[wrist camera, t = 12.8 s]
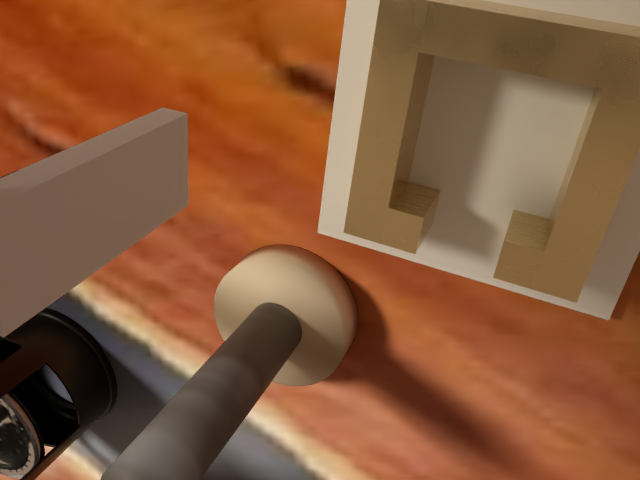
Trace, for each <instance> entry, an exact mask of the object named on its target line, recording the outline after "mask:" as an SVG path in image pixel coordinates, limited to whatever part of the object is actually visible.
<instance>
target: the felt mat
mask: <svg viewBox="0 0 640 480" xmlns="http://www.w3.org/2000/svg"><path fill="white" fill-rule="evenodd" d="M485 1H491V2H497V3H503V4H508V5H514V6H520V7H526V8H532V9H538V10H544V11H550V12H556V13H562V14H568V15H574V16H580V17H586V18H592V19H598V20H603V21H609V22H615V23H621V24H627V25H633V26H639V27H640V0H485ZM379 3H380V0H347V4H346V12H345V20H344V28H343V36H342V44H341V52H340V60H339V67H338V75H337V83H336V91H335V99H334V107H333V115H332V123H331V131H330V138H329V146H328V154H327V162H326V170H325V178H324V186H323V194H322V202H321V209H320V217H319V225H318V233H320V234H324V235H327V236H330V237H334V238H337V239H340V240H344V241H347V242H350V243H354V244H357V245H360V246H363V247H367V248H370V249H373V250H377V251H380V252H383V253H387V254H390V255H393V256H397V257H400V258H403V259H407V260H410V261H413V262H417V263H420V264H423V265H427V266H430V267H433V268H437V269H440V270H443V271H446V272H450V273H453V274H456V275H460V276H463V277H466V278H470V279H473V280H476V281H480V282H483V283H486V284H490V285H493V286H496V287H500V288H503V289H506V290H510V291H513V292H516V293H520V294H523V295H526V296H529V297H533V298H536V299H539V300H543V301H546V302H549V303H553V304H556V305H559V306H563V307H566V308H569V309H573V310H576V311H579V312H583V313H586V314H589V315H593V316H596V317H599V318H602V319H606V320H609V319H610V317H611V314H612V312H613V310H614V308H615V305H616V303H617V301H618V299H619V296H620V294H621V292H622V290H623V287H624V285H625V283H626V281H627V278H628V276H629V274H630V272H631V269H632V267H633V265H634V263H635V260H636V258H637V256H638V254H639V252H640V150H639V152H638V155H637V157H636V159H635V162H634V164H633V167H632V169H631V172H630V174H629V177H628V179H627V181H626V184H625V186H624V189H623V191H622V194H621V196H620V198H619V201H618V203H617V206H616V208H615V211H614V213H613V216H612V218H611V220H610V223H609V225H608V228H607V230H606V233H605V235H604V237H603V240H602V242H601V245H600V247H599V250H598V252H597V255H596V257H595V259H594V262H593V264H592V267H591V269H590V272H589V274H588V276H587V279H586V281H585V284H584V286H583V289H582V291H581V294H580V296H579V298H578V301H577V303H575V302H572V301H569V300H565V299H562V298H559V297H555V296H552V295H549V294H545V293H542V292H539V291H535V290H532V289H529V288H525V287H522V286H519V285H515V284H512V283H509V282H505V281H502V280H499V279H496V278H493V276H494V272H495V269H496V265H497V262H498V258H499V255H500V252H501V248H502V245H503V241H504V238H505V235H506V232H507V229H508V226H509V222H510V219H511V216H512V213H513V210H518V211H521V212H525V213H529V214H533V215H536V216H540V217H544V218H548V219H550V216H551V213H552V210H553V207H554V204H555V201H556V199H557V196H558V193H559V190H560V187H561V184H562V182H563V179H564V176H565V173H566V170H567V167H568V164H569V162H570V159H571V156H572V153H573V150H574V147H575V145H576V142H577V139H578V136H579V133H580V130H581V127H582V125H583V122H584V119H585V116H586V113H587V110H588V108H589V105H590V102H591V99H592V96H593V93H594V90H595V87H590V86H585V85H580V84H575V83H570V82H565V81H560V80H555V79H550V78H545V77H540V76H535V75H530V74H525V73H520V72H515V71H510V70H505V69H500V68H495V67H490V66H485V65H480V64H475V63H470V62H465V61H460V60H455V59H450V58H445V57H440V56H435V57H434V62H433V67H432V71H431V76H430V81H429V86H428V90H427V95H426V100H425V105H424V110H423V114H422V119H421V124H420V129H419V133H418V138H417V143H416V148H415V153H414V157H413V162H412V167H411V172H410V177H409V181H408V182H412V183H416V184H420V185H423V186H427V187H431V188H435V189H439V190H441V191H440V195H439V199H438V204H437V208H436V212H435V216H434V220H433V224H432V226H431V228H430V229H429V231H428V233H427V235H426V236H425V238H424V240H423V242H422V244H421V245H420V247H419V249H418V251H417V252H416V254H413V253H409V252H406V251H403V250H399V249H396V248H393V247H389V246H386V245H383V244H379V243H376V242H373V241H369V240H366V239H363V238H359V237H356V236H353V235H349V234H346V233H344V226H345V220H346V214H347V207H348V201H349V194H350V188H351V182H352V175H353V169H354V162H355V156H356V150H357V143H358V137H359V130H360V124H361V118H362V111H363V105H364V99H365V92H366V86H367V79H368V73H369V67H370V60H371V54H372V47H373V41H374V35H375V28H376V22H377V15H378V9H379Z"/></svg>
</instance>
